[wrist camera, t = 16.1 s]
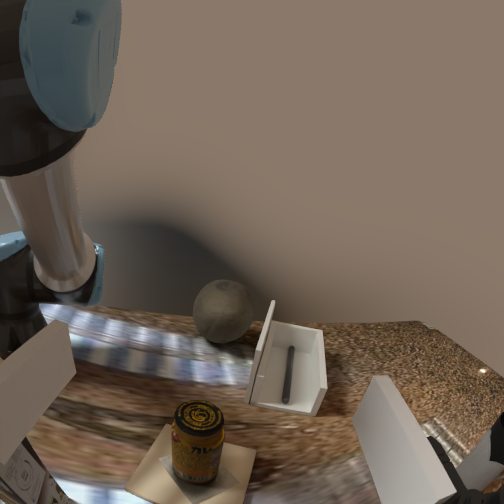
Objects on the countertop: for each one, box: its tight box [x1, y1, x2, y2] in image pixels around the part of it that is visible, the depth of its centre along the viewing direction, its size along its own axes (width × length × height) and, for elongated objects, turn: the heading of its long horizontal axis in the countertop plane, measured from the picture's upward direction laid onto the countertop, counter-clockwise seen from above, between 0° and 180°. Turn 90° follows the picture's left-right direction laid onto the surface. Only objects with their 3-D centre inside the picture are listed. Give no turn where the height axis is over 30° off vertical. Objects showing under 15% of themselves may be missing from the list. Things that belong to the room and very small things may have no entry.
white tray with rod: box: [244, 300, 327, 416], centre depth 52 cm, size 13×22×12 cm, turn 170°
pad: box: [125, 423, 257, 504], centre depth 27 cm, size 14×14×1 cm
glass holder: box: [456, 412, 504, 491], centre depth 17 cm, size 9×14×15 cm, turn 50°
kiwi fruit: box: [193, 280, 254, 343], centre depth 62 cm, size 14×14×15 cm
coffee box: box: [0, 436, 68, 504], centre depth 11 cm, size 9×6×16 cm
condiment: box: [159, 400, 240, 504], centre depth 25 cm, size 7×8×12 cm
